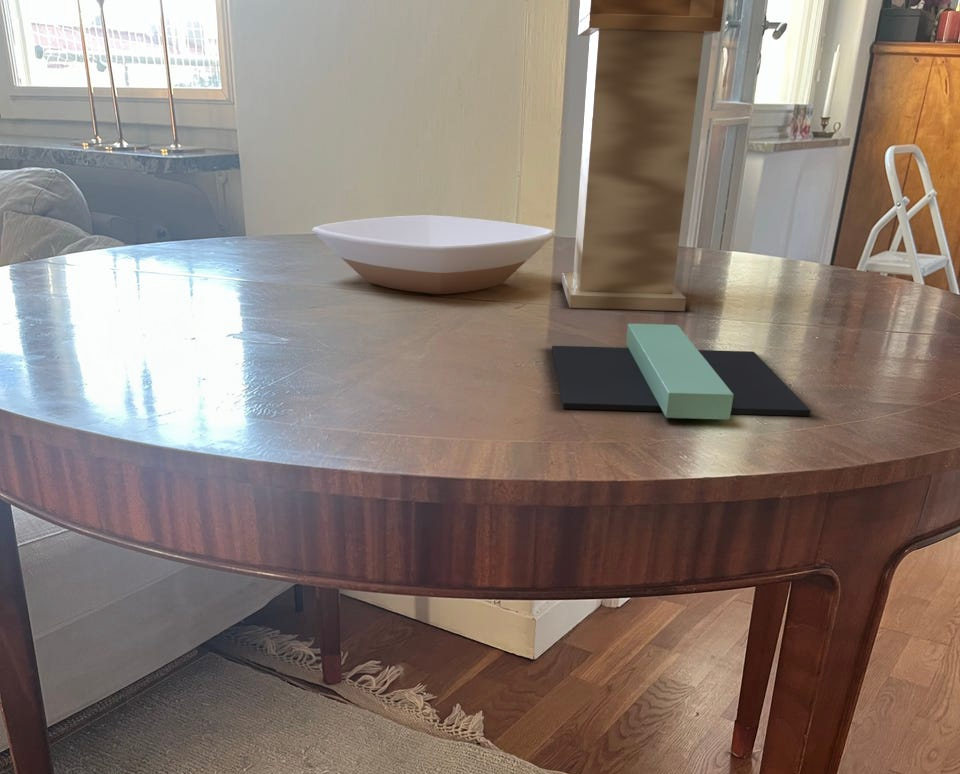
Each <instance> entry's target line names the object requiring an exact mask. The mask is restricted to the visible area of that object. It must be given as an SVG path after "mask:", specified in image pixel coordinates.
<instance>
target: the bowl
mask: <svg viewBox="0 0 960 774" xmlns="http://www.w3.org/2000/svg"><path fill="white" fill-rule="evenodd" d="M312 232H313V234H315V235H316V236H317V237H318V238H319V239H320V240H321V241H322V242H323V243H324V244H326V245H327V246H328V248H330V250H332V251H333V252H334V253H335V254H336V255H337V256H338V257H339V258H341V259H342V260H343V261H344V262H345V263H346V264H347V265H348V266H349V267H350V268H351V269H352V270H354V271H355V272H356V273H357V274H358V275H359V276H360V277H361V279H363V280H364V281H365V282H368V283H370V284H372V285H376V286H380V287H385V288H389V289H393V290H398V291H399V290H400V291H405V292H413V293H421V294H428V295H429V294H430V295H451V294H460V293H468V292H475V291H480V290H485V289H489V288H492V287H496V286H499V285H501V284H503V283H504V282H506V281H507V280H508V279H510V277H511V276H513V274H514V273H515V272H516V271H518V270H519V268H521V267H522V266H523V265H525V263H526V262H527V261H528V260H530V259H531V258H532V257H533V256H534V255H535V254H536V253H537V252H539V250H540V249H542V248H543V247H544V246H545V244H546V243H548V242H549V241H550V240H551V239H552V238H553V237H554V236H555V234H556V232H555V230H554V229H550V228H546V227H541V226H534V225H530V224H522V223H517V222H509V221H508V222H507V221H502V220H501V221H500V220H493V219H492V220H491V219H483V218H472V217H463V216H462V217H461V216H449V215H435V214H419V215H418V214H416V215H397V216H384V217H383V216H382V217H373V218H361V219H353V220H345V221H337V222H330V223H324V224H321V225H317V226H314V227H313V228H312Z"/></svg>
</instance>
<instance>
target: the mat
mask: <svg viewBox="0 0 960 774" xmlns="http://www.w3.org/2000/svg"><path fill="white" fill-rule="evenodd" d="M697 350H698V351H699V352H700V353H701V355H702V356H703V357H704V358H705V360H706V361H707V362H708V363H709V365H710V366H711V367H712V368H713V369H714V371H715V372H716V373H717V374H718V376H719V377H720V378H721V379H722V381H723V382H724V383H725V384H726V386H727V387H728V388H729V389H730V391H731V392H732V393H733V395H734V396H733V402H732V408H731V414H732V415H756V416H757V415H761V416H764V415H765V416H791V417H792V416H793V417H795V416H796V417H810V415H811V412H812V411H811V409H810V408H809V407H808V406H807V404H806V403H804V402H803V401H802V399H800V397H798V395H797V394H795V392H794V391H792V390H791V389H790V387H789V386H788V385H787V384H786V383H785V382H784V381H783V380H782V379H781V378H780V377H779V376H778V375H777V374H776V373H775V371H774V370H772V369H771V368H770V366H769V365H768V364H766V363H765V361H764V360H762V358H761V357H760V356H759V355H758V354H757V353H756V352H755V351H746V350H714V349H713V350H712V349H710V350H709V349H697ZM551 354H552V358H553V362H554V368H555V374H556V379H557V385H558V390H559V395H560V399H561V400H560V401H561V405H562V409H563V410H593V411H594V410H596V411H597V410H598V411H623V412H625V411H627V412H628V411H629V412H658V413H659V412H661V413H663V411H662V409H661V407H660V406H659V404H658V402H657V400H656V398H655V396H654V394H653V393H652V391H651V389H650V387H649V385H648V383H647V381H646V380H645V378H644V376H643V374H642V372H641V370H640V369H639V367H638V365H637V363H636V361H635V359H634V357H633V356H632V354H631V352H630V350H629V348H628V347H615V346H612V347H609V346H580V345H578V346H577V345H551ZM731 414H730V415H731Z"/></svg>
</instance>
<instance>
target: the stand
mask: <svg viewBox="0 0 960 774" xmlns="http://www.w3.org/2000/svg"><path fill="white" fill-rule="evenodd" d="M724 5H725V0H579V14H578V30H577V36H579V37H589V47H588V60H587V73H586V86H585V87H586V89H585V102H584V103H585V104H584V117H583V118H584V119H583V131H582V147H581V160H580V173H579V189H578V201H577V203H578V205H577V217H576V232H575V245H574V246H575V247H574V259H573V272H572V271H571V272H568V271H567V272H566V271H562V276H561V285H562V288H563V291H564V294H565V297H566V300H567V304H568V307H569V308H570V309H593V310H594V309H595V310H597V309H598V310H599V309H600V310H627V311H630V310H631V311H635V310H636V311H661V312H662V311H663V312H664V311H665V312H685V311H686V305H687V298H686V296H685V295H684V294H683V293H682V292H681V291H680V289H678V287H677V286H676V284H675V278H676V277H675V276H676V268H677V260H678V253H679V252H678V251H679V244H680V235H681V226H682V218H683V209H684V202H685V193H686V185H687V176H688V169H689V168H688V167H689V162H690V161H689V160H690V153H691V144H692V136H693V127H694V119H695V111H696V103H697V102H696V101H697V93H698V85H699V78H700V70H701V60H702V54H703V53H702V52H703V45H704V37H705V36H709V35H711V34H716V33H720V32H721V31H722V23H723V16H724V15H723V14H724V8H725V7H724Z"/></svg>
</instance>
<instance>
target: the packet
mask: <svg viewBox="0 0 960 774" xmlns="http://www.w3.org/2000/svg"><path fill="white" fill-rule="evenodd" d="M626 330H627V332H626V338H625V339H626V340H625V344H626V346H627V348H629V350H630V352H631V354H632V356H633V357H634V359H635V361H636V363H637V365H638V367H639V369H640V370H641V372H642V374H643V376H644V378H645V380H646V381H647V383H648V385H649V387H650V389H651V391H652V393H653V394H654V396H655V398H656V400H657V402H658V404H659V406H660V407H661V409H662V411H663V412H662V413H663V415H664V417H665V419H691V420H693V419H696V420H730V419H731V408H732V402H733V396H734V395H733V393H732V392H731V391H730V389H729V388H728V387H727V386H726V384H725V383H724V382H723V381H722V379H721V378H720V377H719V376H718V374H717V373H716V372H715V371H714V369H713V368H712V367H711V366H710V365H709V363H708V362H707V361H706V360H705V358H704V357H703V356H702V355H701V353H700V352H699V351H698V350H699V349H698V348H697V347H696V346H695V344H694V343H693V341H691V340H690V338H689V337H688V336H687V334H686V333H685V332H684V331H683V330H682V328H681V327H680V326H679V325H678V324H664V323H663V324H662V323H660V324H658V323H657V324H656V323H628V324H627V329H626Z"/></svg>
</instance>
